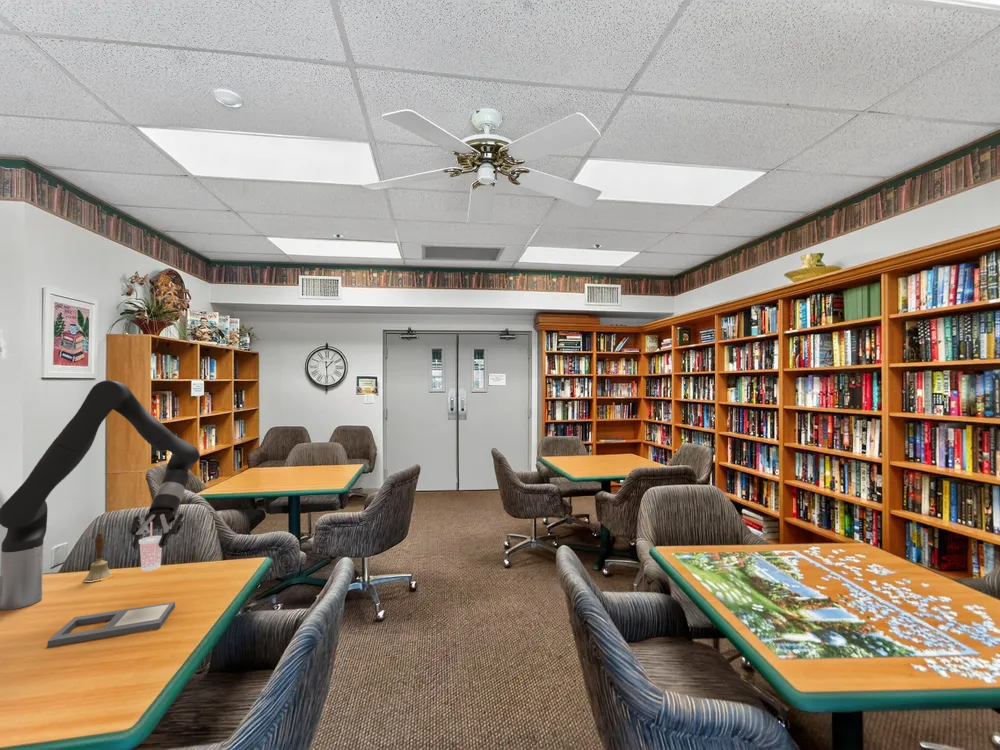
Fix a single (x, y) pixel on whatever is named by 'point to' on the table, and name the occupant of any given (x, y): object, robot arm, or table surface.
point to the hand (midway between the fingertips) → (148, 547)
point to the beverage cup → (150, 552)
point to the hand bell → (98, 562)
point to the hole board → (114, 623)
